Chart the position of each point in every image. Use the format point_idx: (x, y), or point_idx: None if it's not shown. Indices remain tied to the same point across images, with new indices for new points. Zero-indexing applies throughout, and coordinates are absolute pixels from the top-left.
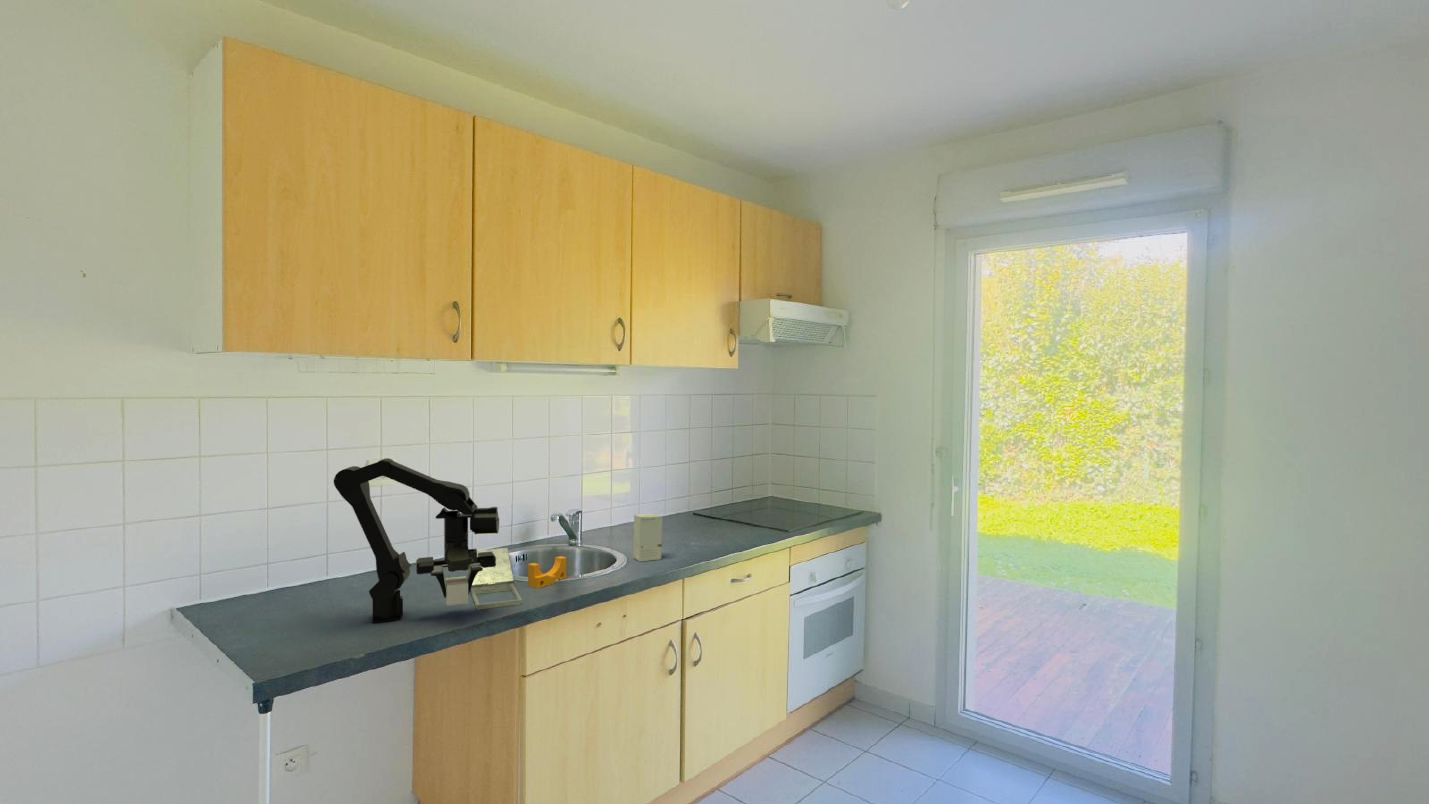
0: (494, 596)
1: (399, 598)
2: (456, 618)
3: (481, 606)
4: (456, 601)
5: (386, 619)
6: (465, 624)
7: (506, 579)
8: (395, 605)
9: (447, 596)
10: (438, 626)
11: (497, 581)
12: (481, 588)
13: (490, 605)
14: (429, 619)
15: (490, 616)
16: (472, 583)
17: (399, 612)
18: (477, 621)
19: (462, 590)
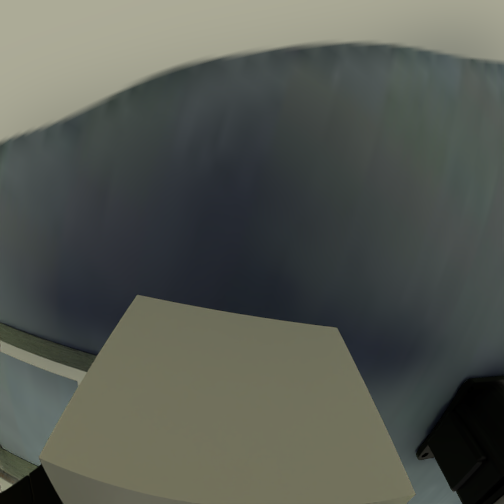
0: (41, 445)
1: (495, 458)
2: (243, 277)
3: (71, 359)
4: (250, 332)
5: (501, 380)
6: (225, 112)
7: (5, 487)
8: (495, 431)
9: (358, 385)
10: (391, 184)
11: None
12: None
13: (30, 344)
14: (381, 340)
15: (45, 194)
16: (33, 471)
17: (466, 415)
18: (133, 132)
19: (162, 404)
